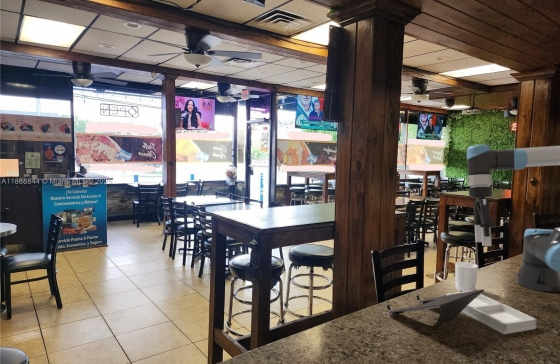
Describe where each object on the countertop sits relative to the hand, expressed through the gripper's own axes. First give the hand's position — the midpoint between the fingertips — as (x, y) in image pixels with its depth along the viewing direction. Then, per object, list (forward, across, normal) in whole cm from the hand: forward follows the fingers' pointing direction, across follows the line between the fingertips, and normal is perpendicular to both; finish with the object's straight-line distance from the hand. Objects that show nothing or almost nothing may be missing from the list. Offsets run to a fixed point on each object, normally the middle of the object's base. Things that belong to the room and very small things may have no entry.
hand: (483, 244), depth 135 cm
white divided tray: (+22, +15, -3) cm, 26 cm away
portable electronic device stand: (+22, +24, -21) cm, 39 cm away
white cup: (+19, -7, -6) cm, 21 cm away
